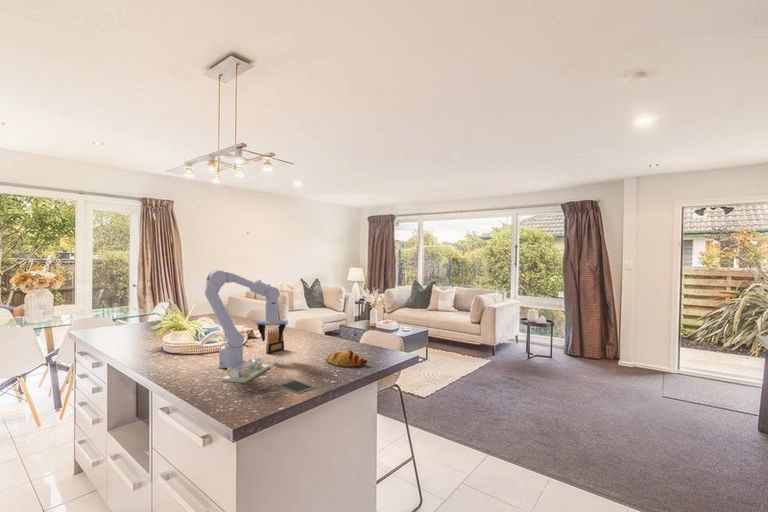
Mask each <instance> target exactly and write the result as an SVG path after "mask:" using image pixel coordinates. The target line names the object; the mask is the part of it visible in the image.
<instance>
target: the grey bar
mask: <svg viewBox="0 0 768 512" xmlns="http://www.w3.org/2000/svg"><path fill="white" fill-rule="evenodd" d="M258 362H262V358H259V357H258V358H257V357H256V358H255V357H254V358H250V359H248V361H245V363H243V364H241V365H239V366H237V367H235V368H234V369H232V370H230V378H236V379H239V378H241V377H243V376H244V375H245V369H249V373H250V372H252V371H253V370H255V369H257V368H258Z"/></svg>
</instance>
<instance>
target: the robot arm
mask: <svg viewBox="0 0 768 512" xmlns="http://www.w3.org/2000/svg"><path fill="white" fill-rule="evenodd" d="M205 280H206V282H205V287H204V288H205V290H204V296H205V297H206V299H207V301H208V304H209V305H210V307H211V309H212V312H214V315H215V316H216V318H217V321H218V322H219V324H220V326H221V328H222V332H223V334H224V340H225V342H226V344H225V345H224V346H221V348H220V349H219V353H218V366H217V369H218V368H219V369H228V368H232V369H234V368H235V367H237V366H239V365H241V361H244V360H243V358H244V357H243V356H244V355H243V352H244V350H243V349H244V347H243V346H244V344H243V343H244V341H245V338H244V336H243V334H242V333H240V332H239V330H238V328H237V327H236V326H235V323H234V322H233V321H232V319H231V317H230V315H229V313H228V311H227V309H226V307H225V305H224V303H223V301H222V299H221V298H220V295H219V293H220V290H221V288H222V287H223V286H224V285H225V283H228V284H229V283H235V284H237V285H240V286H243V287H247V288H249V290H250V292H252V293H253V294H256V295H259V296H263V297H265V320H257V321H255V326H256V327H257V330H258V331H259V334H260V336H261V340H262V341H261V342H264V341H265V340H266V326H278V329H279V341H281V338H282V334H283V335H284V330H285V329H286V327H287V326H288V323H289V321H288V320H283V319H282V320H279V298H280V296H281V293H280V290H279V288H277V287H274V286H272V284H270V283H265V282H262V280H260V279H258V280H257V279H255V280H249V279H248V278H245V277H242V276H240V275H238V274H235V273H233V272H232V273H231V272H227V271H224V270H218V269H214V270H212V271H211V272H209V273H208V276H207V277H206V279H205Z"/></svg>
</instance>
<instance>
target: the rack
mask: <svg viewBox="0 0 768 512" xmlns="http://www.w3.org/2000/svg"><path fill="white" fill-rule="evenodd" d="M245 362H246V360H243V361H241V364H243V363H245ZM270 368H271V364H264V363H263V364H262V361H261V362H258V368H257V369H255V370H253V371H252V372H250V373H249V369H245V375H244V376H243V377H241V378H239V379H236V378H230V370H232V368H227V375H225V376H223V377H221V382H228V383H240V384H241V383H242V384H246V383H247V382H249V381H250V380H251V379H253V378H256V377H257V376H259V375H260V374H262V373H264V372H265V371H267V370H269V369H270Z"/></svg>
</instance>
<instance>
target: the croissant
mask: <svg viewBox="0 0 768 512" xmlns="http://www.w3.org/2000/svg"><path fill="white" fill-rule="evenodd" d="M325 361H326V362H327V363H329V364H331V365H333V366H336V367H342V366H343V368H344V367H345V368H348V367H362V366H364V365H366V364H368V359H367V358H364V357H362V356H359V354H357V353H354V352H353V350H350V349H348V350H347V349H346V350H344V351H342V352H341V351H338V352H335V353H331V354H329V355H326V357H325Z"/></svg>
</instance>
